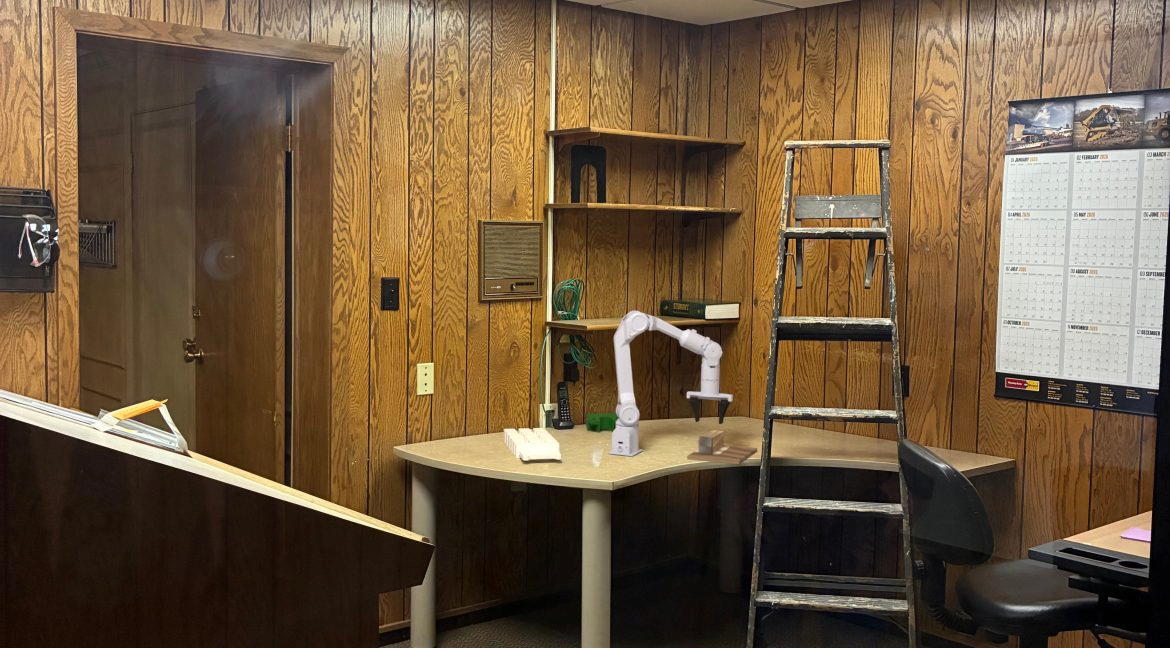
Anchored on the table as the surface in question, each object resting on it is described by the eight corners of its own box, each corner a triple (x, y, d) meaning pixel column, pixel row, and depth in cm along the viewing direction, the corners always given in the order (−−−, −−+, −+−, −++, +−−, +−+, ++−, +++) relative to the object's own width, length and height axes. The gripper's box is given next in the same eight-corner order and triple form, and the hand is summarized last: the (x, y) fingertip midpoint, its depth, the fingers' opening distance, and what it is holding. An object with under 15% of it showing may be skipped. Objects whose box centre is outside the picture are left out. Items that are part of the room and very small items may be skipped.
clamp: (594, 444, 353) (586, 422, 349) (590, 437, 358) (582, 415, 355) (626, 431, 354) (618, 409, 350) (621, 424, 359) (613, 402, 356)
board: (738, 464, 303) (738, 460, 303) (687, 459, 309) (687, 455, 309) (756, 451, 323) (757, 447, 323) (708, 446, 330) (708, 443, 329)
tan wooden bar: (723, 446, 324) (723, 431, 324) (711, 454, 312) (711, 438, 311) (711, 445, 326) (711, 429, 325) (698, 453, 313) (698, 437, 313)
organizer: (543, 427, 334) (564, 448, 300) (543, 442, 334) (564, 465, 300) (503, 428, 331) (520, 450, 297) (503, 443, 332) (520, 466, 298)
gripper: (736, 379, 320) (735, 422, 321) (692, 376, 326) (690, 418, 327) (730, 382, 313) (728, 426, 314) (685, 378, 319) (683, 421, 320)
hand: (709, 422), depth 320 cm, fingers open, 7 cm apart
